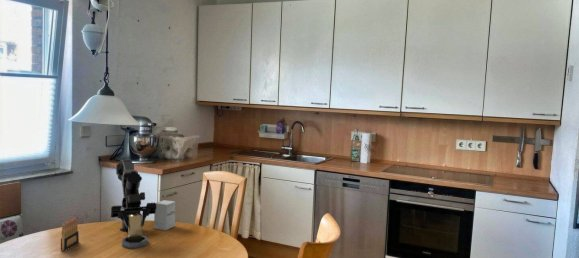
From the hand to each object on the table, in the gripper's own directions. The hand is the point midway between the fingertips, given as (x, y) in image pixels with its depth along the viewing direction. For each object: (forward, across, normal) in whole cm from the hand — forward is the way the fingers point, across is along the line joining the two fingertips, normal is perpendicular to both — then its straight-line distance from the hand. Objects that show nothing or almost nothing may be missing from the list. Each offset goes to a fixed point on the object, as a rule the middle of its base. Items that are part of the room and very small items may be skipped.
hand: (135, 227), depth 185 cm
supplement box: (-9, +16, +20) cm, 27 cm away
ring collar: (+5, 0, +6) cm, 8 cm away
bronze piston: (+4, 0, +6) cm, 8 cm away
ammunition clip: (0, -25, +12) cm, 28 cm away
